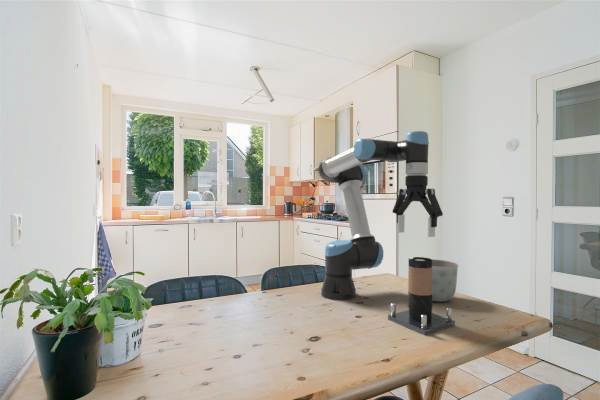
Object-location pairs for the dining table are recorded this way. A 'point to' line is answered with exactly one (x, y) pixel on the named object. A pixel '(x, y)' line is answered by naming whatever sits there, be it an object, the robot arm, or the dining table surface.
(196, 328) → the dining table surface
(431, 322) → the stand
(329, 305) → the dining table surface
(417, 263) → the travel mug
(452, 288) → the planter
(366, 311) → the dining table surface
